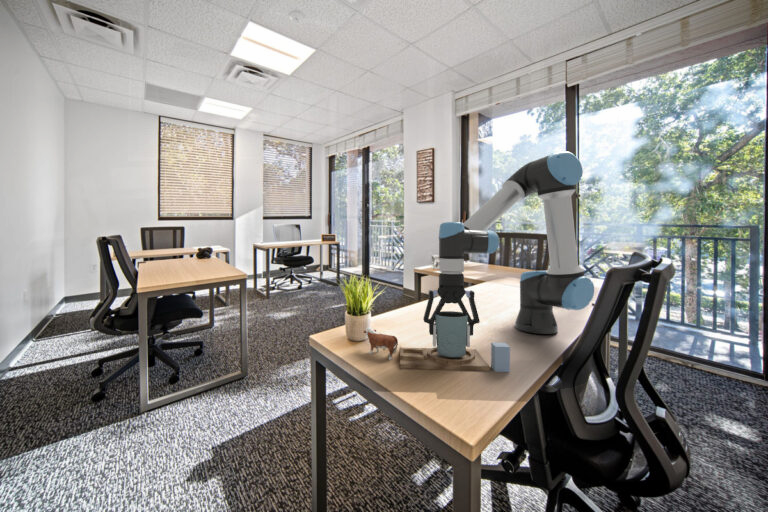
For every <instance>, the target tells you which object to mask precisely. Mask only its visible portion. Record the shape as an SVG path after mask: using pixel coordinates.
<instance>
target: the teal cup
mask: <svg viewBox="0 0 768 512" xmlns="http://www.w3.org/2000/svg"><path fill="white" fill-rule="evenodd" d="M435 316H436V320H435V322H434V323H435V324H436V347H437V353H438V354H440V355H442V356H446V357H462V356H464V355H465V354H466V349H467V346H466V339H467V338H466V336H467V324H468V315H466V316H464V314H463V312H462V311H451V310H450V311H448V310H447V311H444V310H443V311H442V310H441V311H440V313H439V315H435Z"/></svg>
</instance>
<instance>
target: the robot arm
mask: <svg viewBox="0 0 768 512" xmlns="http://www.w3.org/2000/svg"><path fill="white" fill-rule="evenodd" d="M582 177H583V166H582V163H581V161H580V159H579V158H578V157H577V156H575V154H574V153H572V152H570V151H564V150H563V151H560V152H559V151H558V152H554V153H551V154H549V155H547V156H544V157H541V158H538V159H536V160H533V161H529V162H527V163H526V164H524V165H523V166H522V167H520V168H518V170H516V171H515V172H514V173H513V174H512V175H510V177H509V178H507V179H506V180H505V181H504V182H503V183H502V185H501V188H500V190H498V191H497V192H496V193H495V194H494V195H493V196H491V198H489V199H488V201H486V202H485V203H484V204H483V205H482V206H481V207H479V208H478V209H477V210H476V211H475V212H474V213H473V214H472V215H471V216H470V217H468V218H467V220H465V221H464V222H460V221H447V222H441V224H440V225H439V230H438V231H439V232H438V255H439V256H438V257H439V258H438V271H439V272H440V273H439V274H438V288H437V290H431V289H429V290H428V299H427V304H426V308H425V311H424V315H423V322H424V323H426V324H428V332H429V335H430V336H432V346H433V347H432V348H435V347H437V341H436V324H435V320H436V316H435V315H439V313H440V312H442V309H443V307H444V306H445V304H455V305H457V304H458V306H459V308H460V310H461V312H463V314H464V316H466V315H468V321H467V336H466V338H467V339H466V348H471V336H474V326H475V325H476V324H480V323H481V321H480V317H479V312H478V310H477V306H476V301H475V291H474V290H471V289H470V290H465V284H464V283H465V275H464V273H463V272H464V271H465V270H464V269H465V254H469V255H471V254H472V255H475V254H476V255H477V254H478V255H479V254H480V255H481V254H483V255H489V254H493V253H495V252H496V251H497V250H498V249H499V245H500V238H499V237H500V236H499V235H498V233H496V232H495V231H494V230H489V228H490V227H492V226H493V225H494V224H495V223H496V222H497V221H498V220H499V219H500V218H501V217H502V216H503V215H505V214H506V212H508V211H509V209H511V208H512V207H513V206H514V205H515V204H516V203H520V202H522V201H523V200H525V198H527V197H528V196H529V197H530V196H532V195H534V194H537V197H538V198H539V199H541V200H542V201H543V210H544V219H545V227H546V238H547V246H548V247H547V249H548V256H549V257H548V258H549V269H547V270H531V271H524V272H522V273H521V274H520V278H519V279H520V280H519V304H520V305H519V311H518V313H517V317H516V319H515V323H514V324H515V325H514V328H516V330H518V331H521V332H525V333H532V334H540V335H543V334H544V335H550V334H556V333H558V331H559V329H558V328H559V327H558V323H557V320H556V318H555V313H554V310H553V308H554V307H556V308H561V309H565V310H568V311H569V310H573V311H581V310H583V309H585V308H586V307H588V306H589V305H590V303H591V302H592V300H593V299H594V294H595V285H594V282H593V281H592V280H591V279H590V278H589V277H587V276H585V270H584V268H583V267H581V266H579V261H578V260H579V259H578V251H577V242H576V232H575V219H574V213H573V212H574V210H573V202H572V196H573V194H574V193H575V192H576V190H577V188H576V185H577V184H578V183H579V182H580V181H581V180H582ZM437 295H438V296H439V297H440V299H439V301H438V304H437V305H436V307H435V309H434V311H433V313H432V314H431V311H432V308H433V307H432V306H433V304H434V300H435V299H434V298H436V296H437ZM464 296H466V297H467V299H468V303H469V306H470V311H471V314H472V318H471V315H470V313H469V312H468V310H467V308H466V306H465V304H464V302H463V300H462V299H463V297H464ZM430 314H431V316H430ZM429 317H430V318H429Z"/></svg>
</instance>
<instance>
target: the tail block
mask: <svg viewBox="0 0 768 512" xmlns="http://www.w3.org/2000/svg"><path fill="white" fill-rule="evenodd" d="M490 344H491V346H490V347H491V348H490V351H491V352H490V356H491V357H490V367H491V369H492V370H493V371H494V372H495V373H498V372H499V373H501V372H502V373H510V371H511V370H510V369H511V346H510V345H509V344H507V342H491V343H490Z"/></svg>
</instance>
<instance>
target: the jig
mask: <svg viewBox="0 0 768 512" xmlns="http://www.w3.org/2000/svg"><path fill="white" fill-rule="evenodd" d="M399 356H400V358H399V368H400V369H410V370H411V369H413V370H445V371H446V370H450V371H451V370H452V371H455V370H456V371H484V372H485V371H487V372H488V371H489V372H490V365H489V364H488V363H487V361H486V360H485V359H484V358H483V357H482V355H481V354H480V353H479V351H478V350H477V349H475V348H466V354H465V355H464V356H462V357H446V356H442V355H440V354H438V353H437V346H436V347H429V348H428V347H400V348H399Z"/></svg>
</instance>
